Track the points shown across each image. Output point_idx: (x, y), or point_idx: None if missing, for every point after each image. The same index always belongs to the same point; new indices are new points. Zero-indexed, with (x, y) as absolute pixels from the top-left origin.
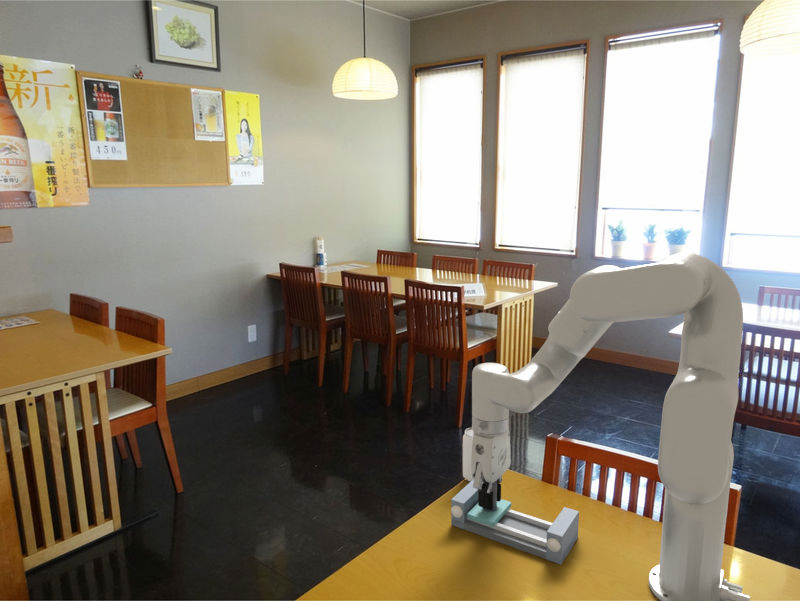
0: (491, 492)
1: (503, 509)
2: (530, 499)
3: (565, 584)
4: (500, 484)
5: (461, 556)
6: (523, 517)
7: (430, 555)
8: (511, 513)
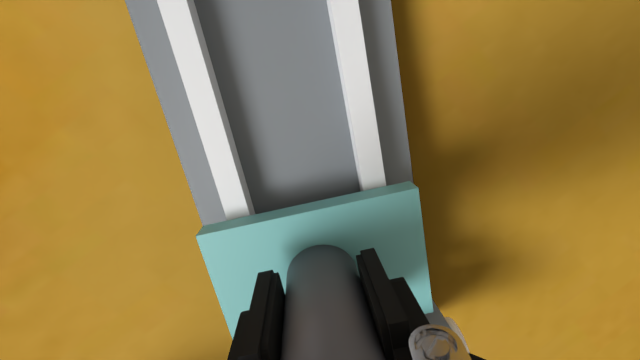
0: (403, 329)
1: (284, 223)
2: (39, 227)
3: None
4: (248, 356)
5: (554, 180)
6: (226, 130)
7: (604, 254)
8: (245, 192)
